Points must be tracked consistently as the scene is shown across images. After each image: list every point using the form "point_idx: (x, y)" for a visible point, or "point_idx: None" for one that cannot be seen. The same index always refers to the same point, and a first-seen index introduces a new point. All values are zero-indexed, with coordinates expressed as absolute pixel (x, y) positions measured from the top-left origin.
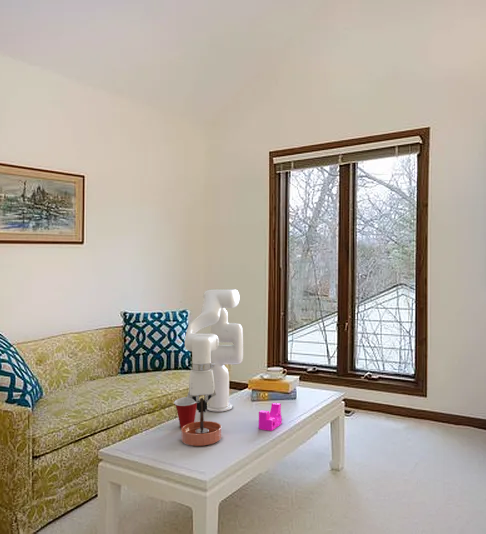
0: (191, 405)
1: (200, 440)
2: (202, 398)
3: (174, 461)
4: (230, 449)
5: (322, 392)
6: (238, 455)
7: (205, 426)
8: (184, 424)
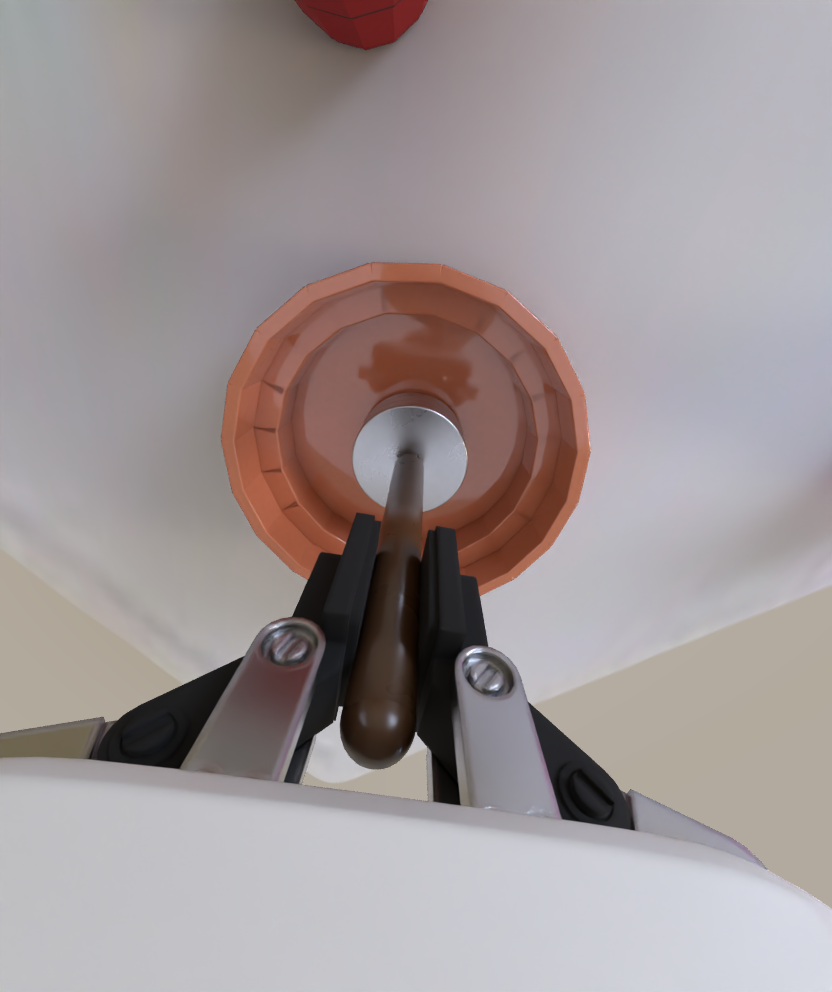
0: None
1: None
2: (386, 767)
3: (218, 647)
4: (508, 636)
5: None
6: None
7: (490, 306)
8: (307, 8)
